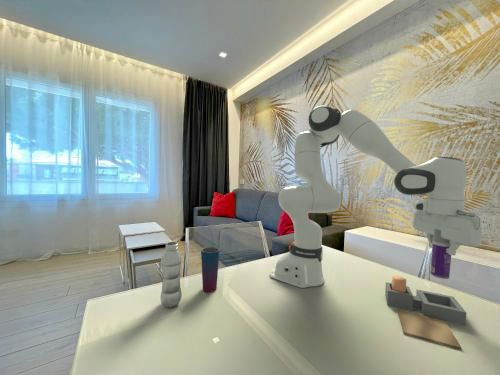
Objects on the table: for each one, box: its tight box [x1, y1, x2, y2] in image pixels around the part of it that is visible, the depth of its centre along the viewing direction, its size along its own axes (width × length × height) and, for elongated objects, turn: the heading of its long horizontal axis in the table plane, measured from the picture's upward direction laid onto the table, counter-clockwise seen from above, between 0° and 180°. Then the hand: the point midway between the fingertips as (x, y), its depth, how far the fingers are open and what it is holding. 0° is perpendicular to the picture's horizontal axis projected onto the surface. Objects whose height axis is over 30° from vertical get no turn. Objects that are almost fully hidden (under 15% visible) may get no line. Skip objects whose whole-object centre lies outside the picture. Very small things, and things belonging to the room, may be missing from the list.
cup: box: [200, 246, 221, 294], centre depth 82 cm, size 7×7×15 cm
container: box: [429, 229, 452, 280], centre depth 71 cm, size 5×5×15 cm
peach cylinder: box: [391, 275, 407, 293], centre depth 76 cm, size 4×4×8 cm
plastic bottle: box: [160, 241, 183, 308], centre depth 72 cm, size 6×7×20 cm
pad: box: [396, 308, 462, 351], centre depth 63 cm, size 12×12×1 cm
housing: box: [384, 281, 467, 327], centre depth 74 cm, size 20×10×5 cm, turn 64°
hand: (441, 251), depth 71 cm, fingers closed on container, 5 cm apart
